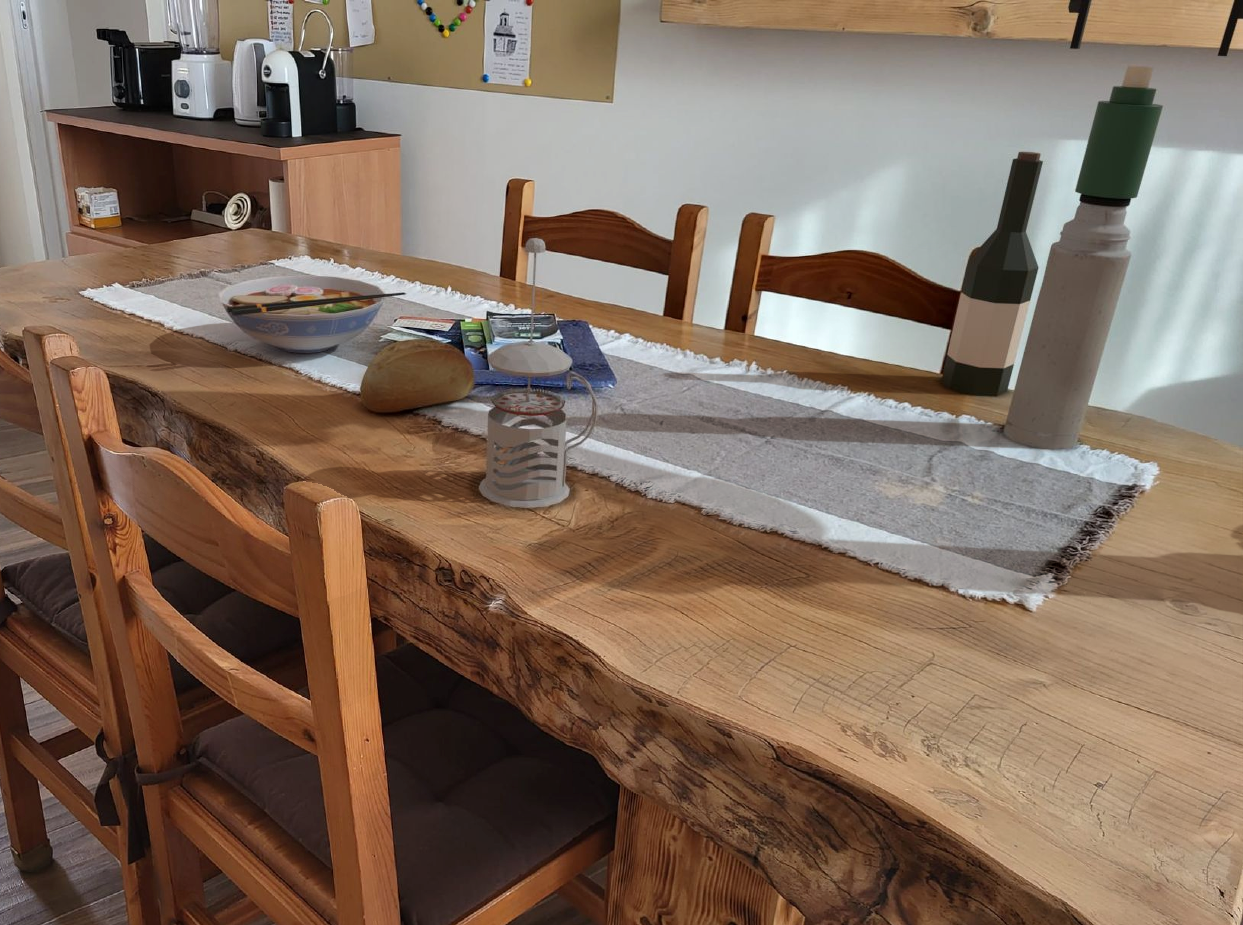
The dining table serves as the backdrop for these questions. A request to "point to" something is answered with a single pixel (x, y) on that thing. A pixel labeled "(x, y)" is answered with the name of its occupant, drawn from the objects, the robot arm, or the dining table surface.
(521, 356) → the french press
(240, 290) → the ramen bowl
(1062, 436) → the thermos bottle
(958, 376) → the wine bottle
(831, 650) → the dining table surface
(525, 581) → the dining table surface
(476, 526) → the dining table surface
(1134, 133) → the green bottle
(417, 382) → the bread roll
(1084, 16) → the robot arm
